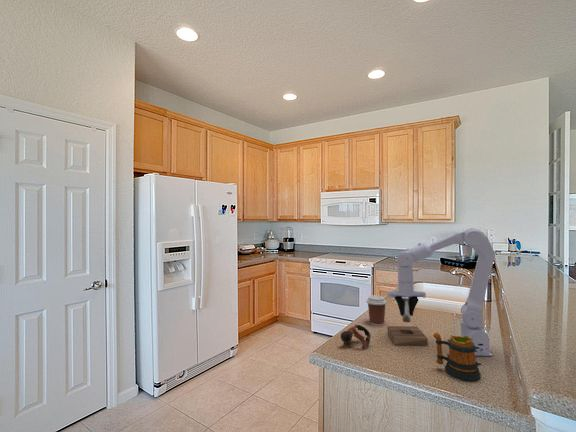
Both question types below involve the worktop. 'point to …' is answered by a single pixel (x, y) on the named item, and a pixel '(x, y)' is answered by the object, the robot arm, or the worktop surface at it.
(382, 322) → the coffee cup
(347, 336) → the brown curled shape
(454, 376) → the mug
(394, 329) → the hole block
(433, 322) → the worktop surface
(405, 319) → the peg
